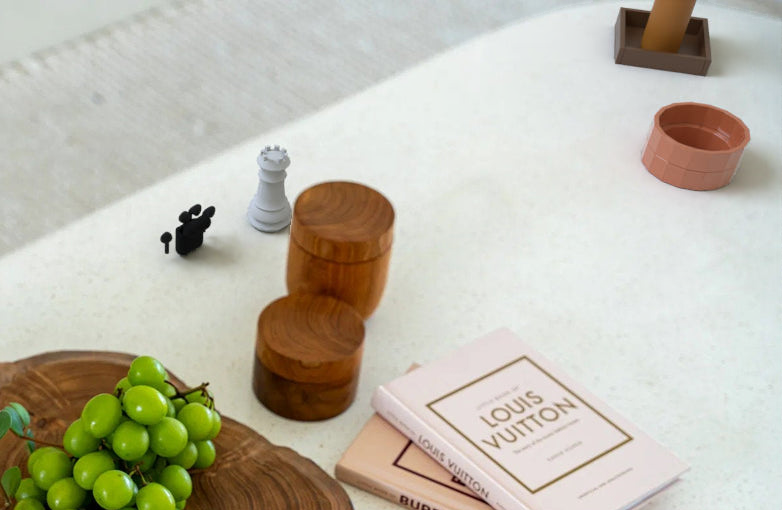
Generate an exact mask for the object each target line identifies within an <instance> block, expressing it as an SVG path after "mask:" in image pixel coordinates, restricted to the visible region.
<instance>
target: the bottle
mask: <svg viewBox="0 0 782 510" xmlns="http://www.w3.org/2000/svg"><path fill="white" fill-rule="evenodd" d="M697 1H698V0H654V1H653V5H652V7H651V10H650V11H651V13H650V16H649V19H648V22H647V25H646V28H645V31H644V34H643V37H642V40H641V43H640V48H641V49H648V50H655V51H662V52H670V53H678V51H679V48H680V45H681V43H682V40H683V37H684V34H685V31H686V29H687V26H688V23H689V20H690V17H691V16H692V14H693V12H694V9H695V6H696V3H697Z"/></svg>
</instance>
